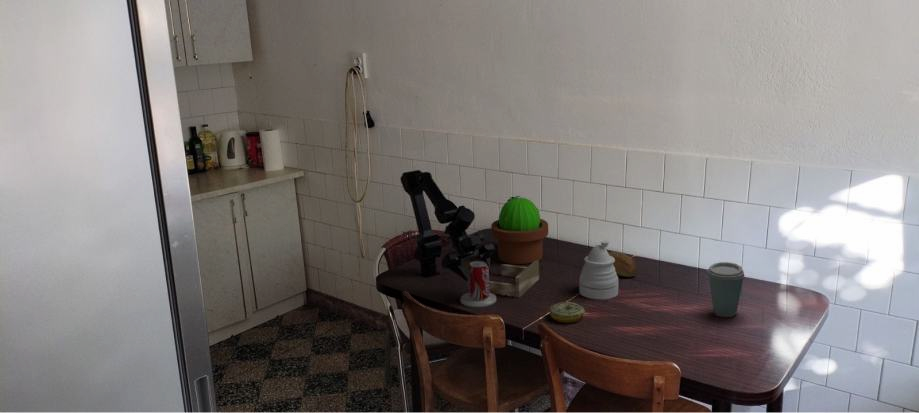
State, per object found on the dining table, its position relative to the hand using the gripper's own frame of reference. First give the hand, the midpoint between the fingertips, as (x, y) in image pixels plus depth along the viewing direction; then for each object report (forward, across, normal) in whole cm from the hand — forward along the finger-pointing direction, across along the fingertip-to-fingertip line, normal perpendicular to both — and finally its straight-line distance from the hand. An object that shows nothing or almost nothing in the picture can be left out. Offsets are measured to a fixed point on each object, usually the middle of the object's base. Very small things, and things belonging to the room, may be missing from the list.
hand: (479, 277), depth 229 cm
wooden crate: (+2, +16, +10) cm, 19 cm away
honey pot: (+20, +36, -7) cm, 41 cm away
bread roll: (+14, +53, -1) cm, 54 cm away
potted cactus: (-12, +37, +25) cm, 46 cm away
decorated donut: (+26, +14, -13) cm, 32 cm away
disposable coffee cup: (+45, +53, -33) cm, 77 cm away
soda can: (+5, +1, +6) cm, 8 cm away
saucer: (+5, 0, +7) cm, 9 cm away
